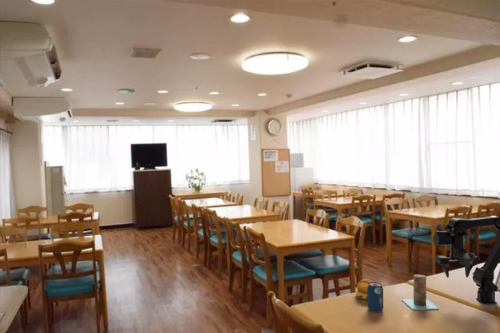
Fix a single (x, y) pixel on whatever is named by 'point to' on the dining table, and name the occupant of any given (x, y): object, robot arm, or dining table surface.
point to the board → (415, 307)
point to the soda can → (375, 296)
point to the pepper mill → (420, 290)
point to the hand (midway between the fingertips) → (457, 277)
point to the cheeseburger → (362, 289)
